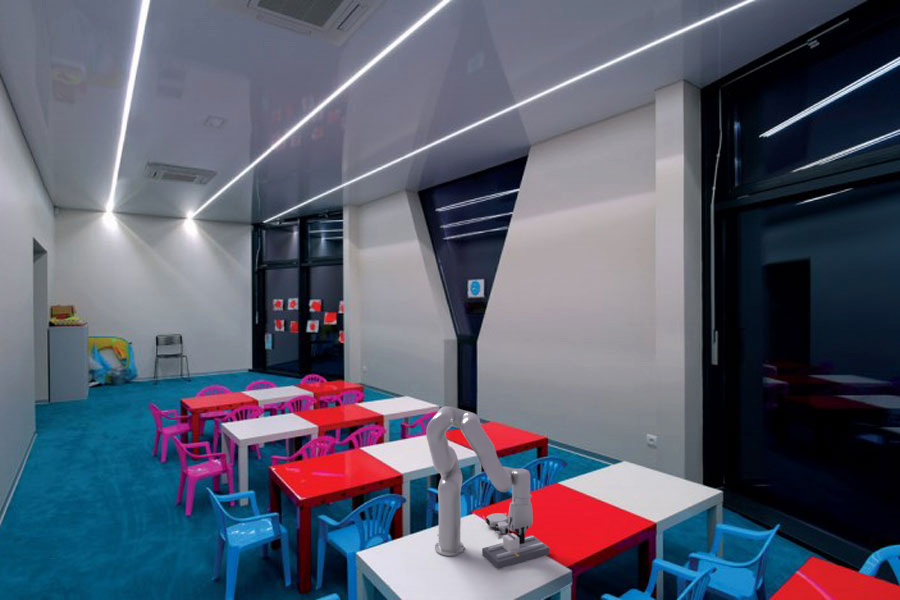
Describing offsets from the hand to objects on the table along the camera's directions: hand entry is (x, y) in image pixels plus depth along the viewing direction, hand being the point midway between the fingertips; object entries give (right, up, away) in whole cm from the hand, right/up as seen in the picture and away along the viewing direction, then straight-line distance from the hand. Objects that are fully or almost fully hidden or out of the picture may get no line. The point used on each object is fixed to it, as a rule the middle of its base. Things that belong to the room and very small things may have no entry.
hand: (520, 542), depth 203 cm
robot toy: (-6, -5, +23) cm, 24 cm away
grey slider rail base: (-2, -5, -1) cm, 5 cm away
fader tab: (-4, -1, -2) cm, 5 cm away
